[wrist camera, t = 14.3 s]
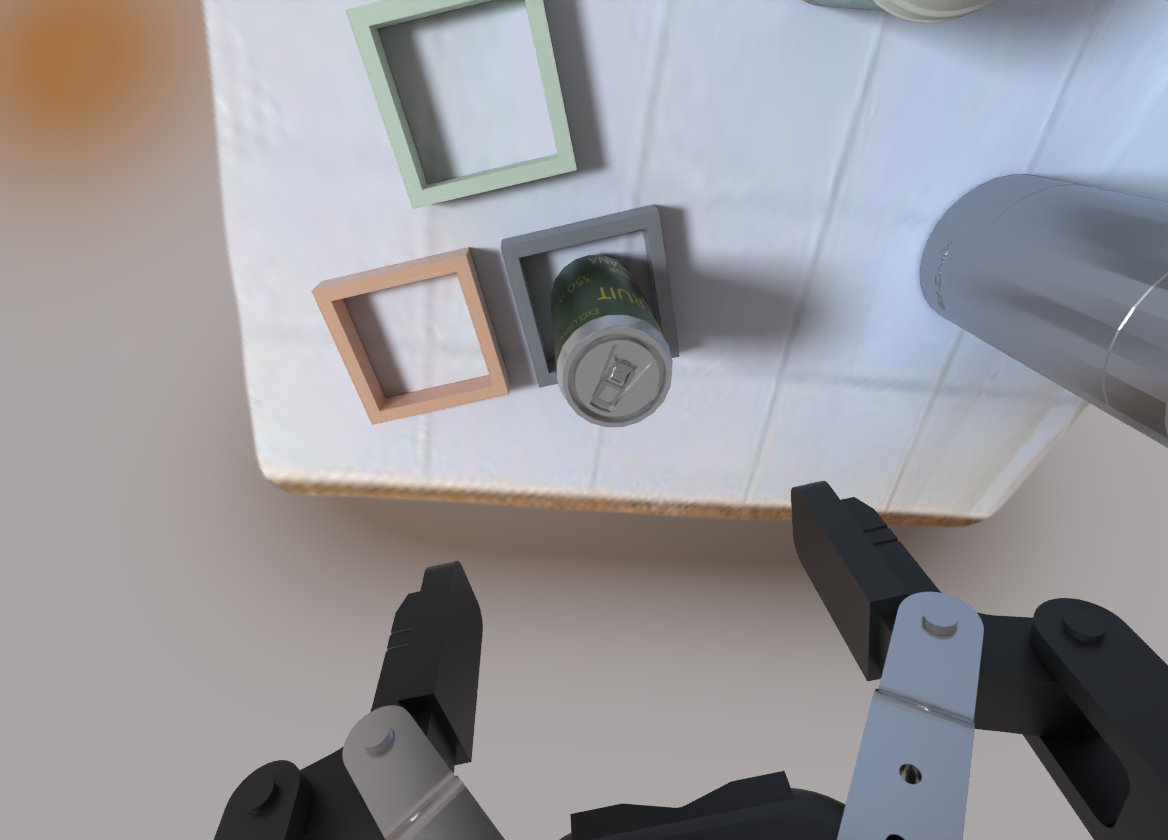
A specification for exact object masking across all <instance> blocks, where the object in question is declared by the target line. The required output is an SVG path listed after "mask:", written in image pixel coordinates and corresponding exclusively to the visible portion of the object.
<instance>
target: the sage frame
mask: <svg viewBox="0 0 1168 840" xmlns="http://www.w3.org/2000/svg"><path fill="white" fill-rule="evenodd" d="M487 1H491V0H383V1H379V2H375V3H371V4H367V5H363V6H359V7H355V8H351V9H347V10H345V11H346V14H347V16H348V19H349V22H350V25H351V28H352V31H353V34H354V37H355V40H356V43H357V46H358V49H359V52H360V55H361V58H362V61H363V64H364V66H365V69H366V72H367V75H368V78H369V81H370V84H371V87H372V90H373V93H374V96H375V99H376V102H377V105H378V108H379V111H380V114H381V117H382V119H383V122H384V125H385V128H386V131H387V134H388V137H389V140H390V143H391V146H392V149H393V152H394V155H395V158H396V161H397V164H398V167H399V169H400V172H401V175H402V178H403V181H404V184H405V187H406V190H407V193H408V196H409V199H410V202H411V205H412V208H413V209H414V208H418V207H422V206H427V205H431V204H435V203H439V202H444V201H448V200H452V199H456V198H460V197H465V196H469V195H473V194H477V193H482V192H486V191H490V190H494V189H499V188H503V187H507V186H511V185H516V184H520V183H524V182H528V181H533V180H537V179H541V178H545V177H550V176H554V175H558V174H562V173H567V172H571V171H575V170H577V168H576V163H575V158H574V153H573V148H572V143H571V138H570V133H569V128H568V123H567V118H566V113H565V108H564V103H563V98H562V93H561V88H560V83H559V78H558V73H557V68H556V63H555V58H554V53H553V48H552V43H551V39H550V34H549V29H548V24H547V19H546V14H545V9H544V4H543V0H525V4H526V8H527V13H528V18H529V22H530V27H531V32H532V36H533V41H534V46H535V51H536V55H537V60H538V65H539V69H540V74H541V79H542V83H543V88H544V93H545V98H546V102H547V107H548V112H549V116H550V121H551V126H552V130H553V135H554V140H555V145H556V149H557V154H554V155H550V156H546V157H542V158H538V159H533V160H529V161H525V162H521V163H517V164H512V165H508V166H504V167H500V168H495V169H491V170H487V171H483V172H479V173H474V174H470V175H466V176H462V177H457V178H453V179H449V180H445V181H441V182H436V183H432V184H428V185H427V182H426V179H425V176H424V173H423V170H422V166H421V163H420V160H419V157H418V154H417V151H416V148H415V145H414V142H413V138H412V135H411V132H410V129H409V126H408V123H407V120H406V117H405V114H404V110H403V107H402V104H401V101H400V98H399V95H398V92H397V89H396V86H395V82H394V79H393V76H392V73H391V70H390V67H389V64H388V61H387V58H386V54H385V51H384V48H383V45H382V42H381V39H380V36H379V33H378V30H377V29H378V28H383V27H387V26H391V25H395V24H399V23H403V22H407V21H411V20H415V19H419V18H423V17H427V16H431V15H435V14H439V13H443V12H447V11H451V10H455V9H459V8H463V7H467V6H471V5H475V4H479V3H483V2H487Z"/></svg>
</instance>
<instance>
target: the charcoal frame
mask: <svg viewBox="0 0 1168 840" xmlns="http://www.w3.org/2000/svg"><path fill="white" fill-rule="evenodd" d="M642 229H643V232H644V239H645V245H646V252H647V258H648V265H649V271H650V277H651V284H652V290H653V297H654V303H655V310H656V316H657V323H658V326H659V327H660V329H661V331H662V333H663V335H664V337H665V339H666V341H667V343H668V345H669V349H670V353H671V357H672V358H675V357H679V350H678V343H677V336H676V329H675V322H674V315H673V308H672V300H671V293H670V286H669V279H668V272H667V265H666V257H665V250H664V243H663V236H662V229H661V222H660V215H659V210H658V209H657V208H656V207H655V206H654V205H649V206H645V207H640V208H636V209H632V210H628V211H623V212H619V213H615V214H610V215H606V216H602V217H597V218H593V219H589V220H584V221H580V222H576V223H572V224H567V225H563V226H559V227H554V228H550V229H546V230H541V231H537V232H533V233H529V234H524V235H520V236H516V237H511V238H507V239H503V240H502V243H501V250H502V254H503V257H504V261H505V265H506V268H507V272H508V275H509V279H510V283H511V286H512V290H513V293H514V297H515V301H516V304H517V308H518V312H519V315H520V319H521V322H522V326H523V330H524V333H525V337H526V340H527V344H528V348H529V351H530V355H531V358H532V362H533V366H534V369H535V373H536V376H537V380H538V384H539V387H544V386H549V385H553V384H558V381H557V374H556V362H555V360H554V361H550V362H548V359H547V355H546V351H545V348H544V344H543V340H542V336H541V332H540V328H539V325H538V321H537V317H536V313H535V309H534V306H533V302H532V298H531V294H530V290H529V287H528V283H527V279H526V275H525V271H524V267H523V264H522V260H521V257H525V256H529V255H533V254H538V253H542V252H546V251H551V250H555V249H559V248H564V247H568V246H572V245H577V244H581V243H585V242H590V241H594V240H598V239H603V238H607V237H611V236H616V235H620V234H624V233H629V232H633V231H637V230H642Z"/></svg>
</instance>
